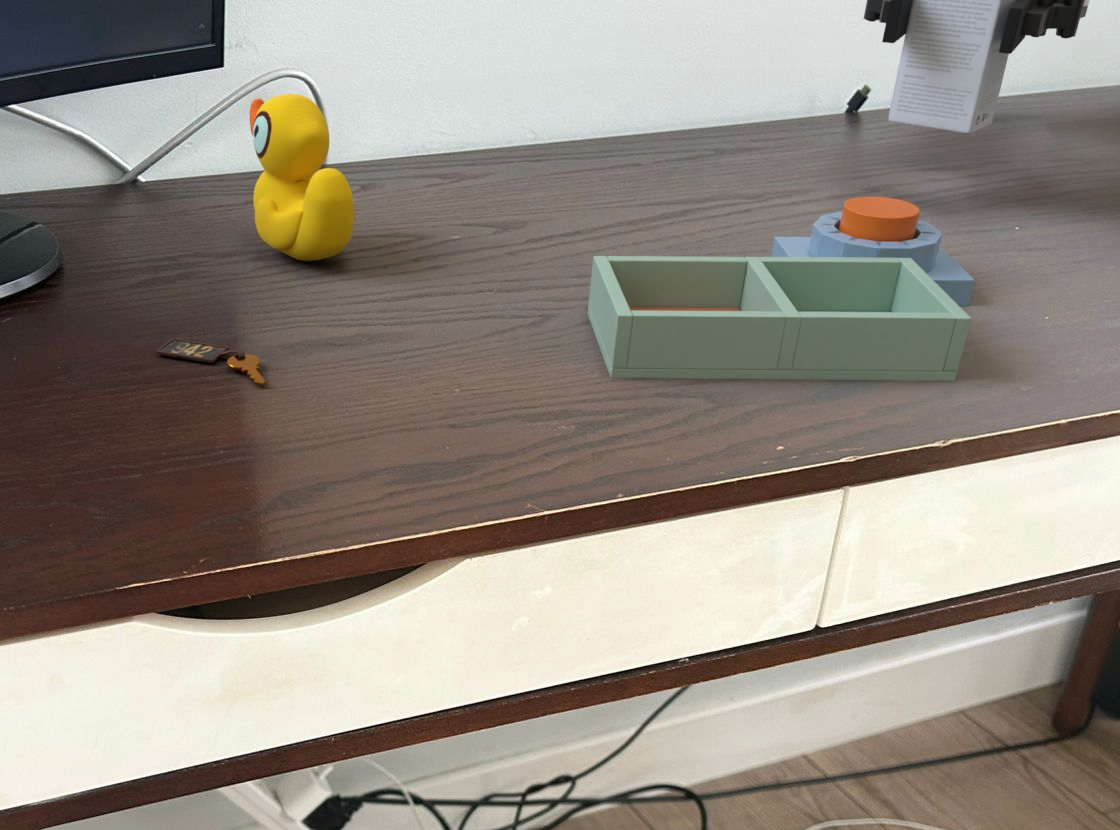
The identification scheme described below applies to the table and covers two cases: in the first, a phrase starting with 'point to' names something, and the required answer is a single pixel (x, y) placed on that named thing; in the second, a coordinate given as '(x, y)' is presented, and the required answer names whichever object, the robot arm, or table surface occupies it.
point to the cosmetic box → (951, 64)
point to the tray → (774, 318)
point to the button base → (882, 252)
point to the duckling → (298, 181)
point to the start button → (879, 219)
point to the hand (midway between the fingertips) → (950, 25)
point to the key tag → (213, 356)
